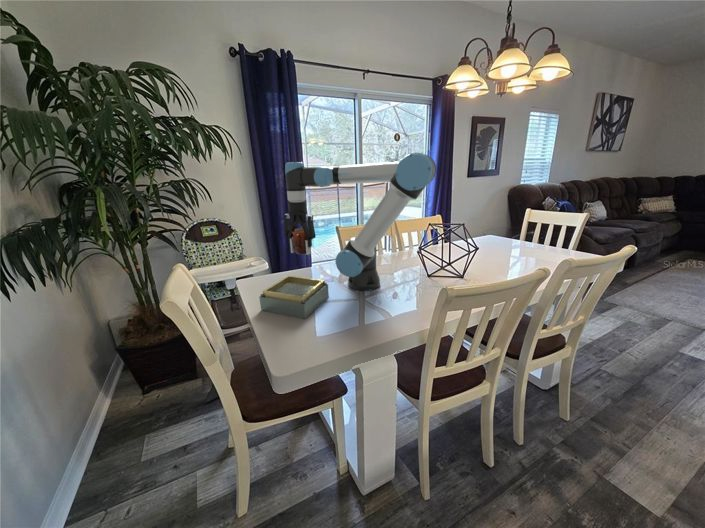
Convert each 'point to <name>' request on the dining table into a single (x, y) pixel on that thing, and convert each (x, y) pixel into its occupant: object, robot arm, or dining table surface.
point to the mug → (299, 241)
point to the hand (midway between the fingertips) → (301, 252)
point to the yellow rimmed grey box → (294, 296)
